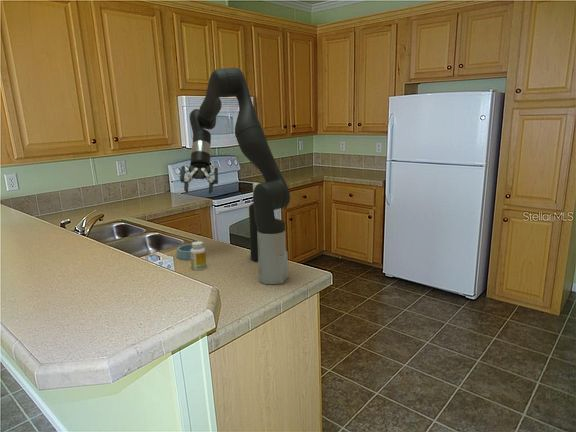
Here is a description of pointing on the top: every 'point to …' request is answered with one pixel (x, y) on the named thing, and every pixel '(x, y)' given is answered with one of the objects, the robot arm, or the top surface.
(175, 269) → the top surface
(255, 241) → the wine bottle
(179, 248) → the bowl
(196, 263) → the supplement bottle
